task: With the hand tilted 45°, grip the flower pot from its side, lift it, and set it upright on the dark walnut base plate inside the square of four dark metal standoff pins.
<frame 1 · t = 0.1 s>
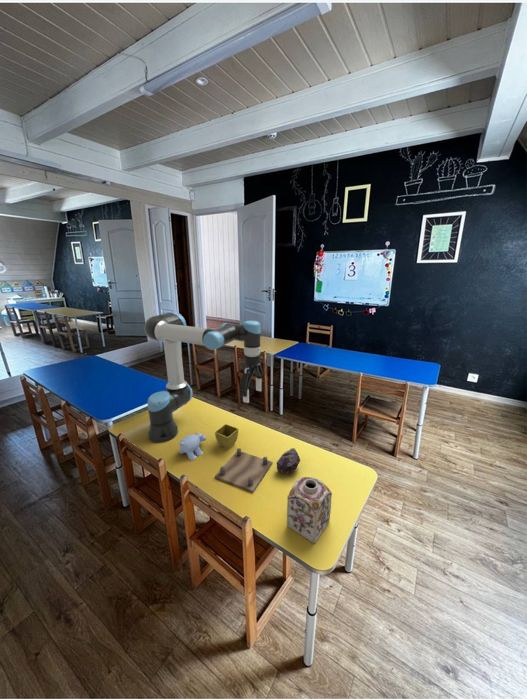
hand: (252, 396, 136), 28 cm above the table, tool pointing down, fingers open, 13 cm apart
decorative jar: (308, 523, 102), on the table
hippopotamus toy: (193, 451, 141), on the table
rock: (289, 469, 128), on the table
standoff plate: (244, 470, 127), on the table
flower pot: (227, 445, 145), on the table
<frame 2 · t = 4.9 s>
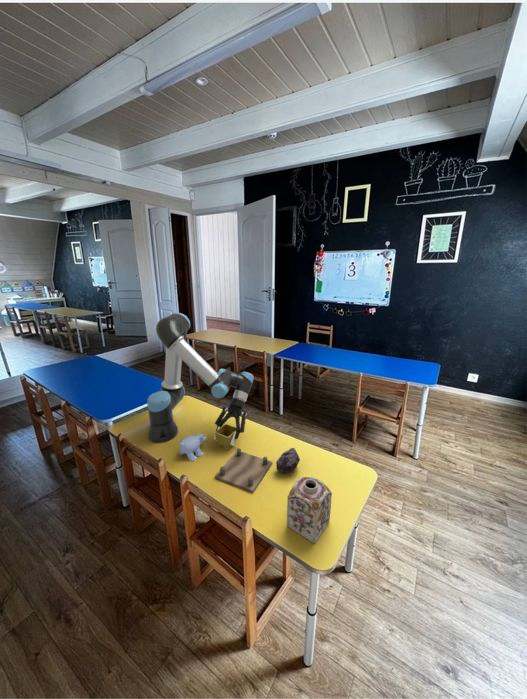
hand: (223, 442, 141), 4 cm above the table, tool tilted 45°, fingers closed on flower pot, 9 cm apart
flower pot: (227, 445, 145), on the table, touching gripper
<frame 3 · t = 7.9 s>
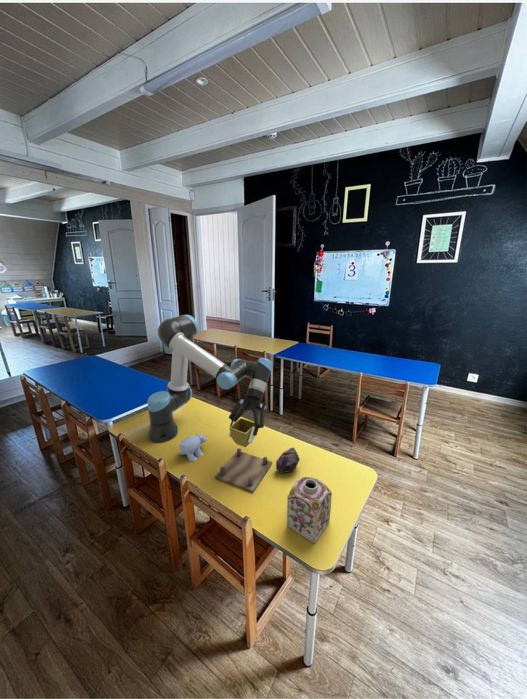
hand: (239, 439, 120), 18 cm above the table, tool tilted 45°, fingers closed on flower pot, 9 cm apart
flower pot: (244, 443, 124), point 14 cm above the table, touching gripper
when the fingers open (6 cm above the table, at t = 11.1 s): flower pot drops 1 cm, resting on standoff plate.
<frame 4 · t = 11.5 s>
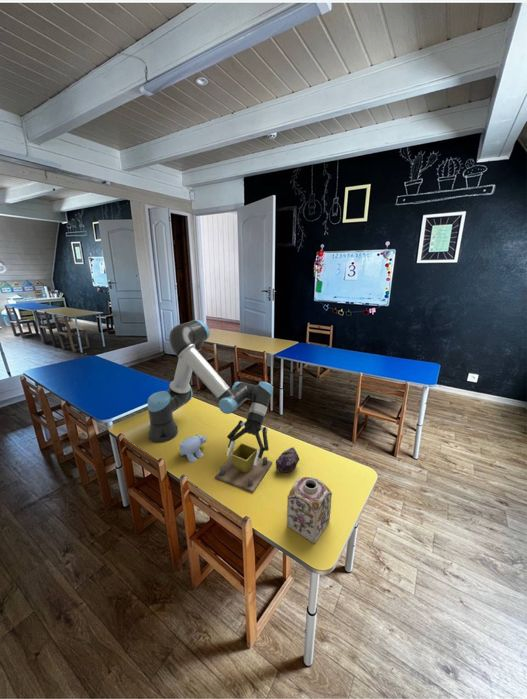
hand: (241, 460, 123), 7 cm above the table, tool tilted 45°, fingers open, 13 cm apart
flower pot: (244, 468, 127), point 1 cm above the table, touching standoff plate
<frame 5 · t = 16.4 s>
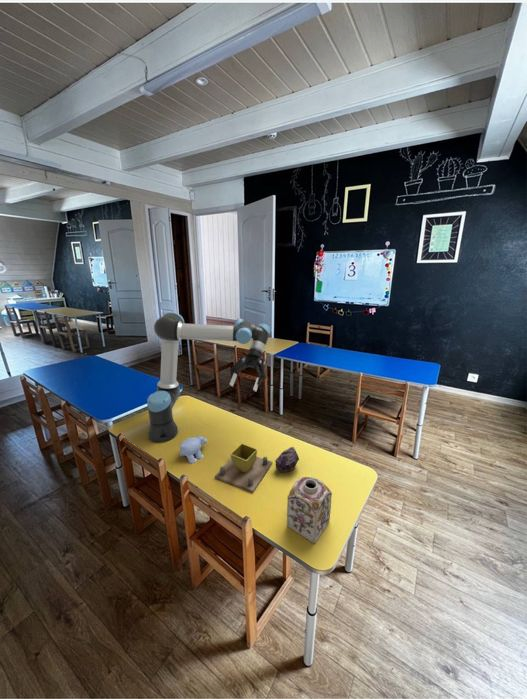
hand: (242, 388, 141), 30 cm above the table, tool tilted 45°, fingers open, 13 cm apart
at the end: flower pot inside the target area on the standoff plate (0.2 cm from its centre), point 1.0 cm above the standoff plate's base; flower pot tilted 0°; the gripper is holding nothing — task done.
